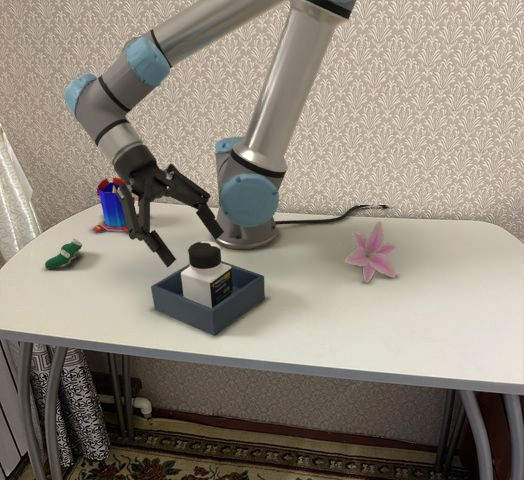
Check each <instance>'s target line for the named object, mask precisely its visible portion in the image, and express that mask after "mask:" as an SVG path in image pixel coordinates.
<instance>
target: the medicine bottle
mask: <svg viewBox="0 0 524 480" xmlns="http://www.w3.org/2000/svg"><path fill="white" fill-rule="evenodd" d="M187 254H188V263H189V264H190V267H188V268H187V269H185V270H184V271H182V272H181V279H182V287H183V295H184V297H185V298H187V299H190V300H192V301H195V302H197V303H200V304H202V305H205V306H207V307H209V308H213V307H215V306H216V305H218V304H219V303H220V302H222V301H223V300H225V299H226V298H228V297H229V296H231V295H232V294H233V283H232V268H231V266H229V265H226V264H222V261H223V260H222V250H221V245H220V244H218V243H217V242H215V241H210V240H209V241H208V240H202V241H197V242H194V243H193V244H190V246H189V248H188V249H187Z"/></svg>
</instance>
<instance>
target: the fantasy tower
mask: <svg viewBox="0 0 524 480" xmlns="http://www.w3.org/2000/svg"><path fill="white" fill-rule="evenodd" d="M121 184H125V183H123V181H122V180H121V179H120V177H112V182H109V179H108V178H104V179H102V180H101V182H100V183H99V184H98V185H97V189H96V195H97V196H98V197H99V199H100V201H99V203H100V205H101V208H102V209H101V210H102V214H103V219H104V221H103V222H102V223H101V225H100V224H97V225H96V226H95V227H94V228H93V229H92V231H93V232H95V234H98V233H99V234H100V233H104V232H105V233H106V232H114V233H125V234H127V235H129V234H128V230H127V226H126V221H125V217H124V213H123V209H122V204H121V202H120V200H119V198H118V197H117V195H116V191H117V190H118V188H119V187H120V185H121ZM125 185H127V184H125ZM132 197H133V201H134V205H135V203H136V197H135V196H132ZM136 214H137V218H138V222H139V212H137V213H136Z"/></svg>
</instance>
